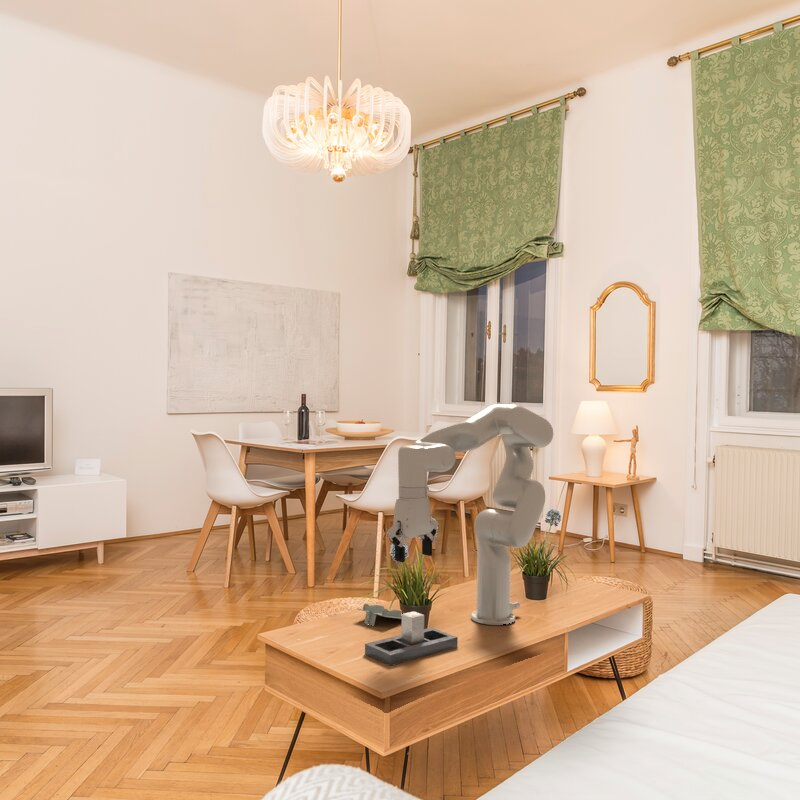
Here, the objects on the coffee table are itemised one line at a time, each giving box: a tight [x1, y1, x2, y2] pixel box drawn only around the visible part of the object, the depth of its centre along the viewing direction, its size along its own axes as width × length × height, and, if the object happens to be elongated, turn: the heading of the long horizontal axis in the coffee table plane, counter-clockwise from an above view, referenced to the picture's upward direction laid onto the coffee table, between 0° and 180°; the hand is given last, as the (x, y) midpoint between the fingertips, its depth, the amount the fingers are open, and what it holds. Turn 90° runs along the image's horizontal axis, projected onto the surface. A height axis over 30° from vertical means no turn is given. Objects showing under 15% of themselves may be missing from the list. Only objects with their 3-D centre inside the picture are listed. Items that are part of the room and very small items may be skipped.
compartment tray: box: [364, 627, 458, 667], centre depth 181 cm, size 22×10×2 cm, turn 130°
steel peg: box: [400, 611, 425, 646], centre depth 181 cm, size 4×4×9 cm
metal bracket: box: [356, 603, 402, 627], centre depth 205 cm, size 14×6×15 cm
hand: (413, 558), depth 189 cm, fingers open, 9 cm apart
